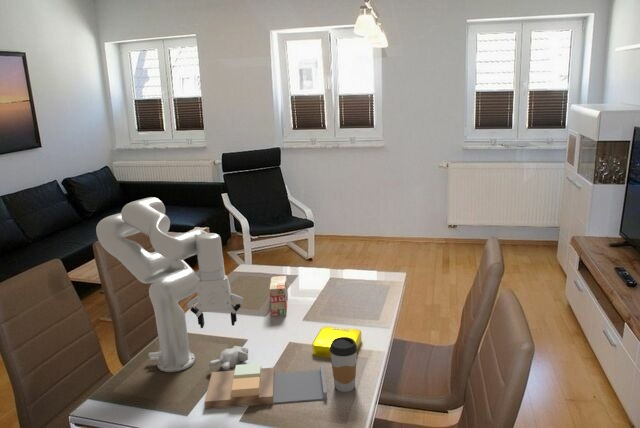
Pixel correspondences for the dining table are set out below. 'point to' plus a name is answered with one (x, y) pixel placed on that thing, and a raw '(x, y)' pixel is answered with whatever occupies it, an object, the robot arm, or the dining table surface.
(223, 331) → the dining table surface
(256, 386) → the light orange flat block
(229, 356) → the bunny figurine
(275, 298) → the stack of blocks
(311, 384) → the grey square tray
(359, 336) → the element tile
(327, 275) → the dining table surface
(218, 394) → the board
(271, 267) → the dining table surface
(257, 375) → the sage tile
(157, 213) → the robot arm
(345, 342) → the coffee cup
